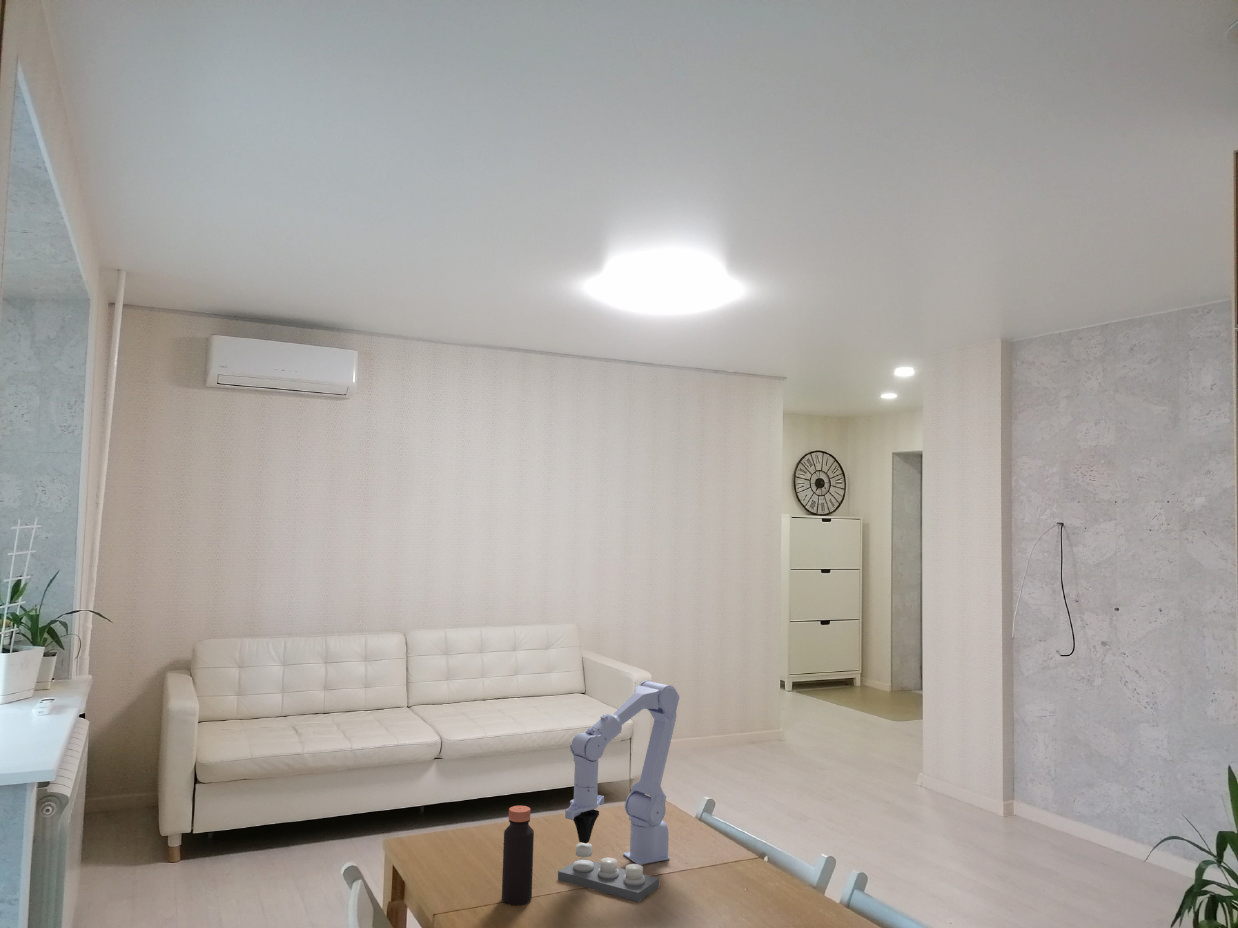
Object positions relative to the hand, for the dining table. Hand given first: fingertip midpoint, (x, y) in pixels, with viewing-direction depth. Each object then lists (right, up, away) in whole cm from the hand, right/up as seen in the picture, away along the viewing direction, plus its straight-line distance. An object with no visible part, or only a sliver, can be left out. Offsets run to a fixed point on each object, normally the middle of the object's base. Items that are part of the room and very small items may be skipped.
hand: (584, 841), depth 212 cm
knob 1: (0, -3, 0) cm, 3 cm away
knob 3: (+12, -5, -7) cm, 15 cm away
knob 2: (+6, -5, -4) cm, 9 cm away
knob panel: (+6, -8, -4) cm, 11 cm away
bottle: (-15, -7, -15) cm, 22 cm away
